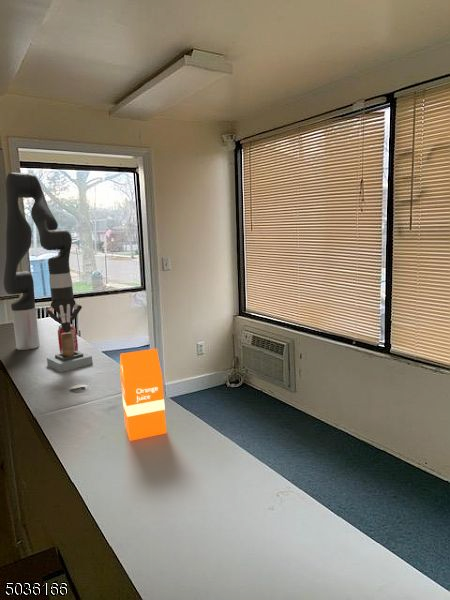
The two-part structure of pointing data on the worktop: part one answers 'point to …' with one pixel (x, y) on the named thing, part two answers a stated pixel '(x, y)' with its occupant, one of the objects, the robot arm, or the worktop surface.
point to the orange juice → (142, 394)
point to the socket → (69, 361)
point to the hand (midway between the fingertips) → (66, 332)
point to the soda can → (74, 335)
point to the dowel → (67, 344)
